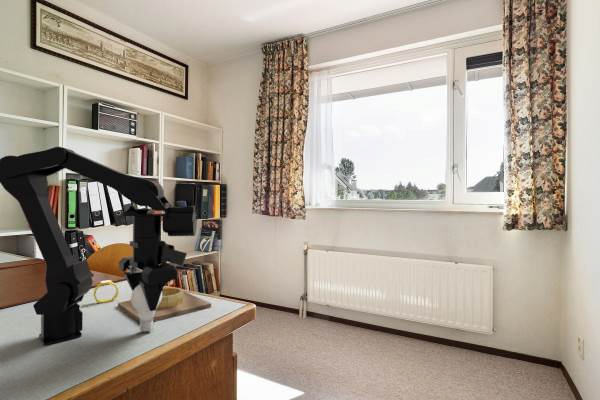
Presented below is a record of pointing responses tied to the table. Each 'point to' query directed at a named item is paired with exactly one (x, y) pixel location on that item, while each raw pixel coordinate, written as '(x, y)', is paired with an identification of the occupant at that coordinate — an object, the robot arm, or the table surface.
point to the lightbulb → (143, 309)
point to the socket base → (187, 306)
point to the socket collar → (171, 297)
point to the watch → (105, 284)
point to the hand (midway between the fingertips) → (146, 306)
